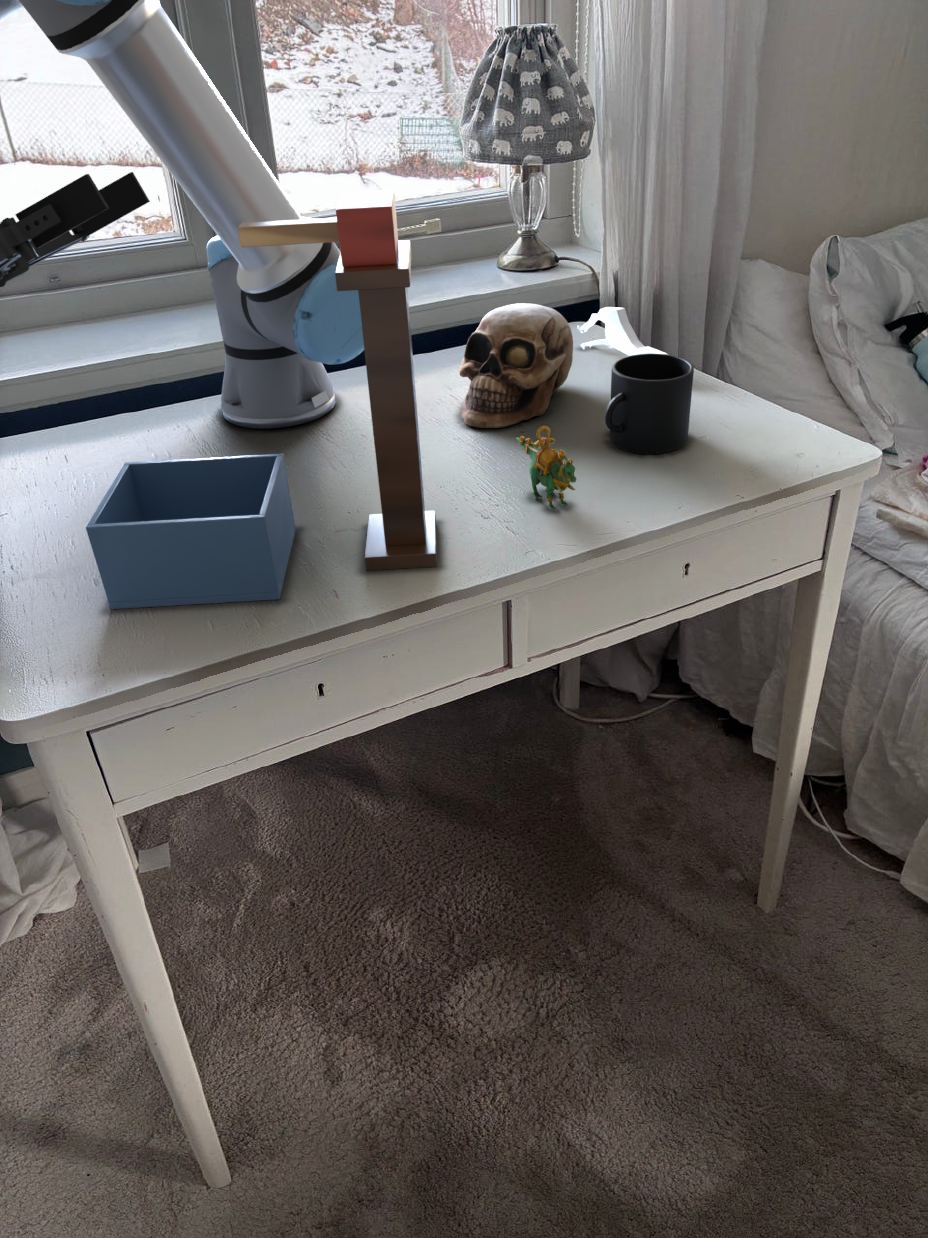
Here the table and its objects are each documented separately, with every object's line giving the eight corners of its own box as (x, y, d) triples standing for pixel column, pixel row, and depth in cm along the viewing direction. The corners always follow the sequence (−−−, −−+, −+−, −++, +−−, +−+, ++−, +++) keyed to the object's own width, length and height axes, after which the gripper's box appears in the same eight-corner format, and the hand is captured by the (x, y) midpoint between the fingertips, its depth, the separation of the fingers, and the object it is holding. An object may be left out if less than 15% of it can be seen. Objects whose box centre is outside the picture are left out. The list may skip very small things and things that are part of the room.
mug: (577, 443, 116) (578, 371, 111) (647, 417, 122) (651, 347, 117) (632, 468, 110) (637, 393, 104) (704, 439, 115) (711, 366, 110)
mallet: (251, 252, 84) (242, 198, 82) (398, 244, 84) (394, 189, 82) (238, 273, 78) (228, 215, 76) (396, 264, 78) (391, 205, 76)
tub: (145, 538, 101) (125, 462, 96) (295, 529, 101) (283, 452, 96) (110, 609, 90) (85, 527, 85) (279, 599, 90) (264, 516, 85)
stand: (370, 524, 101) (337, 243, 85) (435, 520, 101) (415, 239, 85) (365, 573, 93) (328, 273, 77) (437, 569, 93) (414, 268, 77)
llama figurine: (589, 392, 146) (664, 378, 130) (573, 316, 143) (648, 293, 127) (599, 389, 147) (675, 375, 131) (583, 314, 144) (659, 291, 128)
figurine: (561, 522, 100) (562, 450, 95) (505, 479, 109) (504, 411, 104) (586, 515, 101) (588, 443, 96) (529, 473, 110) (528, 405, 105)
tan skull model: (464, 430, 120) (462, 320, 114) (454, 394, 136) (452, 296, 129) (587, 425, 121) (591, 316, 115) (563, 390, 137) (566, 293, 130)
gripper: (-5, 323, 96) (176, 223, 93) (-129, 374, 73) (106, 243, 70) (-55, 252, 92) (132, 145, 90) (-199, 281, 70) (43, 140, 67)
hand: (121, 188), depth 80 cm, fingers open, 13 cm apart
